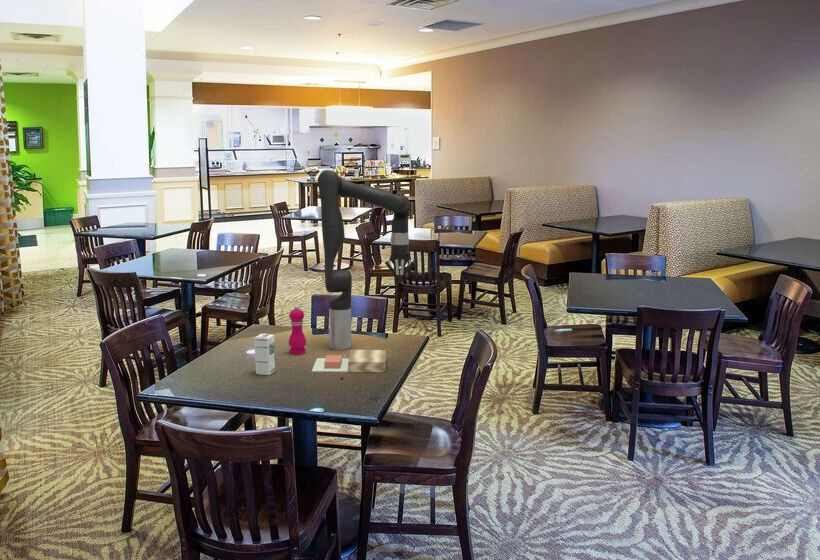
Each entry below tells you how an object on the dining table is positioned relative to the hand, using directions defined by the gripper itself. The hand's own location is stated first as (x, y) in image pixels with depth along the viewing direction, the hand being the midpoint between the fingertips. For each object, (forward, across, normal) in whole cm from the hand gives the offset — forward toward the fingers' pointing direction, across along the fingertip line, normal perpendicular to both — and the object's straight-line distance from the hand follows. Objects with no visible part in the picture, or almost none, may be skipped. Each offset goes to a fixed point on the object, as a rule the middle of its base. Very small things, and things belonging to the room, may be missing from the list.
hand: (399, 283), depth 294 cm
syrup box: (+27, -50, -39) cm, 69 cm away
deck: (+27, -12, -30) cm, 42 cm away
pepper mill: (+27, -42, -13) cm, 52 cm away
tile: (+25, -25, -30) cm, 47 cm away
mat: (+27, -26, -30) cm, 48 cm away
